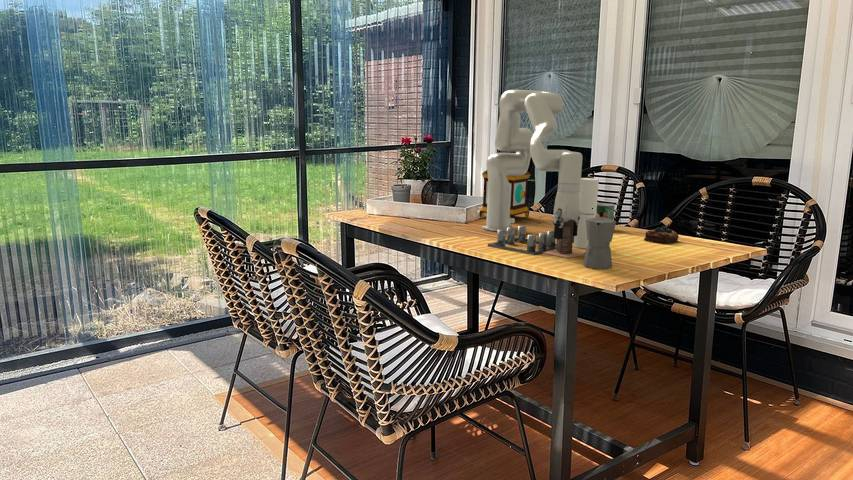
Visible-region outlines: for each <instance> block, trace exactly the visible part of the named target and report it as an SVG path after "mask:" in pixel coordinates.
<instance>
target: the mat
mask: <svg viewBox="0 0 853 480" xmlns="http://www.w3.org/2000/svg"><path fill="white" fill-rule="evenodd" d="M585 253H586V251H579V250H575V249H572V254H560V253H559V252H558V251H557V250H556V249H555V250H551V251H547V252H543V253H542V254H543V255H546V256H553V257H558V258H564V259H567V260H568V259H572V258H575V257H578V256H582V255H585Z"/></svg>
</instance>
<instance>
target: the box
mask: <svg viewBox="0 0 853 480" xmlns="http://www.w3.org/2000/svg"><path fill="white" fill-rule="evenodd" d="M559 223H561V222H559ZM573 223H574V220H572V219H571V220H568V221H567V222H564V224H563V227H562V228H563V239H562V240H560V239H556V244H557V245H556V250H557V251H558V252H559V253H560V254H572V250H573V246H574V236H573Z"/></svg>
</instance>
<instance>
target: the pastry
mask: <svg viewBox="0 0 853 480" xmlns="http://www.w3.org/2000/svg"><path fill="white" fill-rule="evenodd" d="M644 236H645V237H644V238H643V241H644V242H649V243H655V244H661V245H671V244H675V243H677V242H678V240H679V234H678V233H677V232H676V231H674V230H672V229H670V228H667V227H666V226H662V227H657V228H655V229H649V230H648V231H646V232H645V235H644Z"/></svg>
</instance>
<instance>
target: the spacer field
mask: <svg viewBox="0 0 853 480" xmlns="http://www.w3.org/2000/svg"><path fill="white" fill-rule="evenodd" d="M515 236H516V227H513V226H512V227H507V231H506V230H504V229H498V231H497V238H496V239H497V240H496V241H495V242H490V243H487V247H491V248H496V249H501V250H506V251H511V252H516V253H517V252H518V253H522V254H528V255H532V256H535V255H540V254H543V252H547V251H551V250H555V249H556V245H557V239H554V229H549V230H547V232H538V240H537V234H531V233H530V234H527V225H517V237H515ZM526 236H527V238H526ZM515 242H517V243H520V244H521V243H526V249H523V248H522V249H521V248H518V247H511V245H515ZM506 245H510V246H506ZM537 245H538V248H537ZM536 249H537V250H536Z"/></svg>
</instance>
